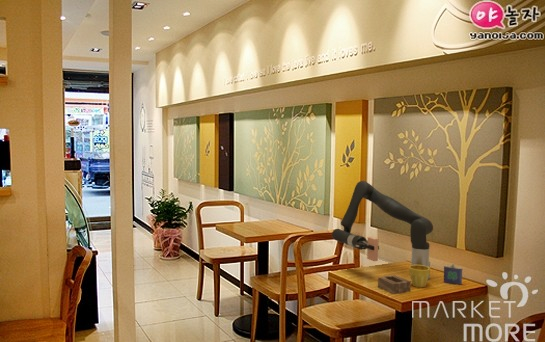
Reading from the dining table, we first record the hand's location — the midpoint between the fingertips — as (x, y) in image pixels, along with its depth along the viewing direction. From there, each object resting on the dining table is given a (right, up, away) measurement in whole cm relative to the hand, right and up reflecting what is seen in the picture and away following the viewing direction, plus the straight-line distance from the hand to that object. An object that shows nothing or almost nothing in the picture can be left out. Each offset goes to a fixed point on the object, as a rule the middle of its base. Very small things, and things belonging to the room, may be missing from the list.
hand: (376, 248), depth 256 cm
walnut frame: (+6, -19, -12) cm, 23 cm away
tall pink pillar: (-1, -7, +3) cm, 8 cm away
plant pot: (+21, -19, -6) cm, 29 cm away
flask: (+40, -19, -2) cm, 45 cm away
